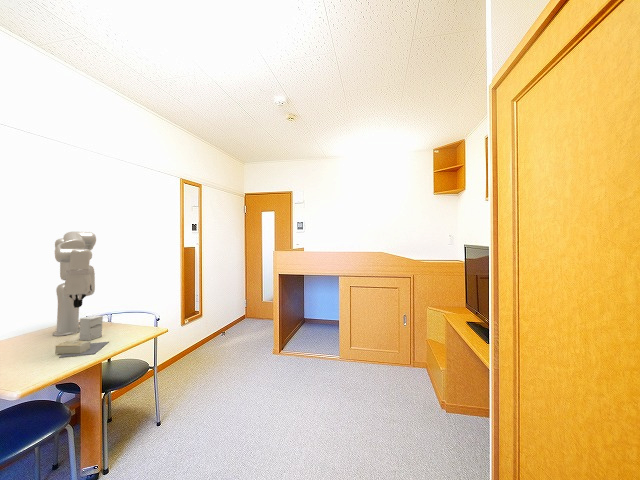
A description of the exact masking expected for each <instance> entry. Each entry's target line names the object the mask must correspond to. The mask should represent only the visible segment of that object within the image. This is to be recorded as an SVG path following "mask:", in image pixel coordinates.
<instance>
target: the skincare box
mask: <svg viewBox="0 0 640 480" xmlns="http://www.w3.org/2000/svg"><path fill="white" fill-rule="evenodd" d="M91 343H92V341H91V340H89V341H86V340H79V341H78V340H77V341H76V340H68V341H65V342H62V343H59V344H56V345H55V350H54V354H55V355H56V354H57V355H60V354H61V355H63V354H81V353H83V352H85V351H87V350H89V349H90V344H91Z"/></svg>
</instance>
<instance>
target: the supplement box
mask: <svg viewBox="0 0 640 480" xmlns="http://www.w3.org/2000/svg"><path fill="white" fill-rule="evenodd" d="M79 320H80V321H79V322H80V325H79V328H80V332H79V334H78V335H79V337H78V340H79V341H91V340H94V339H97V338H100V337H102V336H103V315H98V314H96V315H95V314H93V315H90V316H86V317H81V318H79Z"/></svg>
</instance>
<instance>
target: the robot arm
mask: <svg viewBox="0 0 640 480" xmlns="http://www.w3.org/2000/svg"><path fill="white" fill-rule="evenodd" d="M96 242H97V236H96V235H95V234H94V233H93V232H90V231H68V232H66V233H64V235H63V238H57V239H56V240H55V242H54V258H55V261H56V262H57V263H59V277H60V279H61V280H62V281H64V282H63V283H60V284H58V285H57V286H56V289H55V293H56V297H57V298H56V299H57V310H56V311H57V315H56V318H57V319H56V331H54V332H52V336H54V337H62V336H69V335H75V334H77V333H80V327H79V326H80V321H79V320H80V308H81V307H82V305H83V299H84V298H86V297H89V296H92V295H93V294H94V293H95V290H96V281H95V280H96V276H95V274H96V273H95V268H94V266H93V265H90V262H91V261H90V260H91V259H92V258H93V251H92V250H93V248H94V247H95V245H96Z"/></svg>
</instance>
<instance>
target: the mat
mask: <svg viewBox="0 0 640 480" xmlns="http://www.w3.org/2000/svg"><path fill="white" fill-rule="evenodd" d="M109 343H110V341H100V342H91V344H90V349H89V350H87V351H85V352H83V353H81V354H61V355H60V356H58V359H64V358H73V357H80V356H90V355H96V353H98V352H99V351H101V350H102V349H103V348H104V347H106V345H108V344H109Z"/></svg>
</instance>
